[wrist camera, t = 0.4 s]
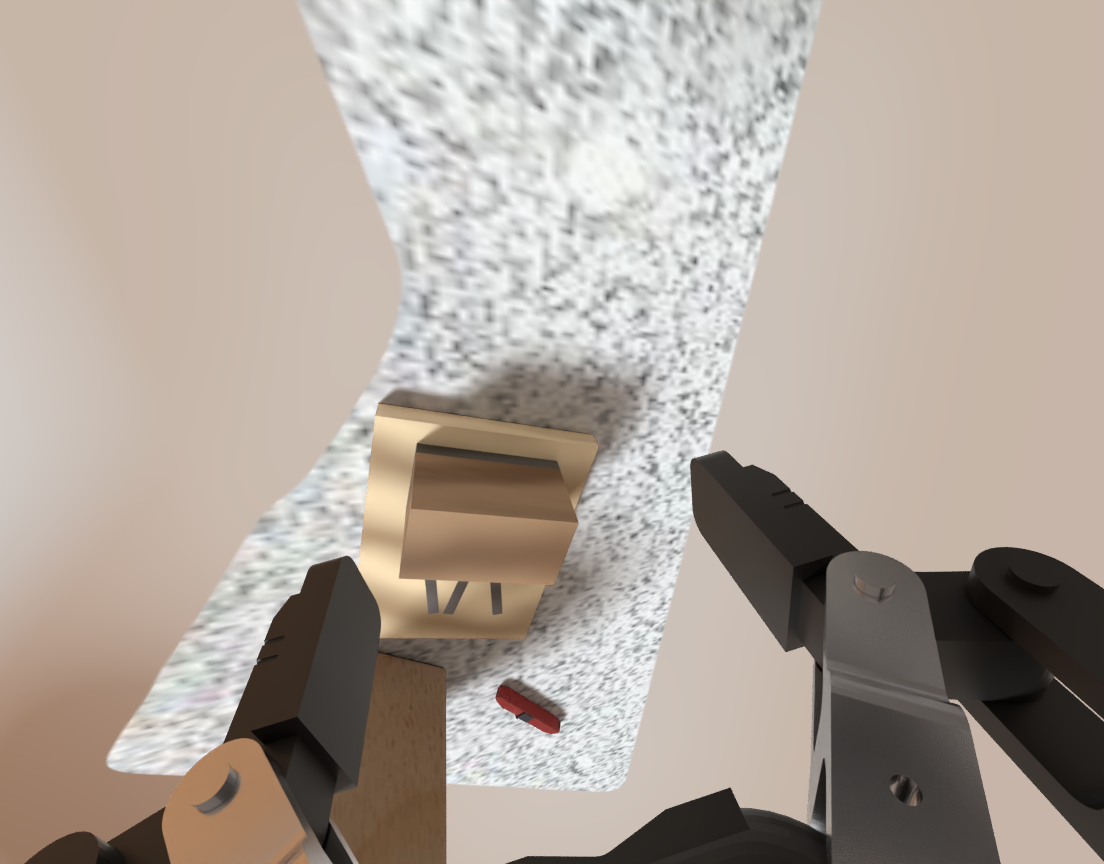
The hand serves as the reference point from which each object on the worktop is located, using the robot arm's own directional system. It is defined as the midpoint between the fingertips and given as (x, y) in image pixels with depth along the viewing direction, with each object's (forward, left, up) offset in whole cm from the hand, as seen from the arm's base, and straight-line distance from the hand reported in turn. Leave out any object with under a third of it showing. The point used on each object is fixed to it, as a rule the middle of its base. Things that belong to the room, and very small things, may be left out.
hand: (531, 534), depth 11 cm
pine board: (+17, +2, -18) cm, 25 cm away
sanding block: (+11, +2, -17) cm, 20 cm away
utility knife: (+40, +13, -19) cm, 46 cm away
